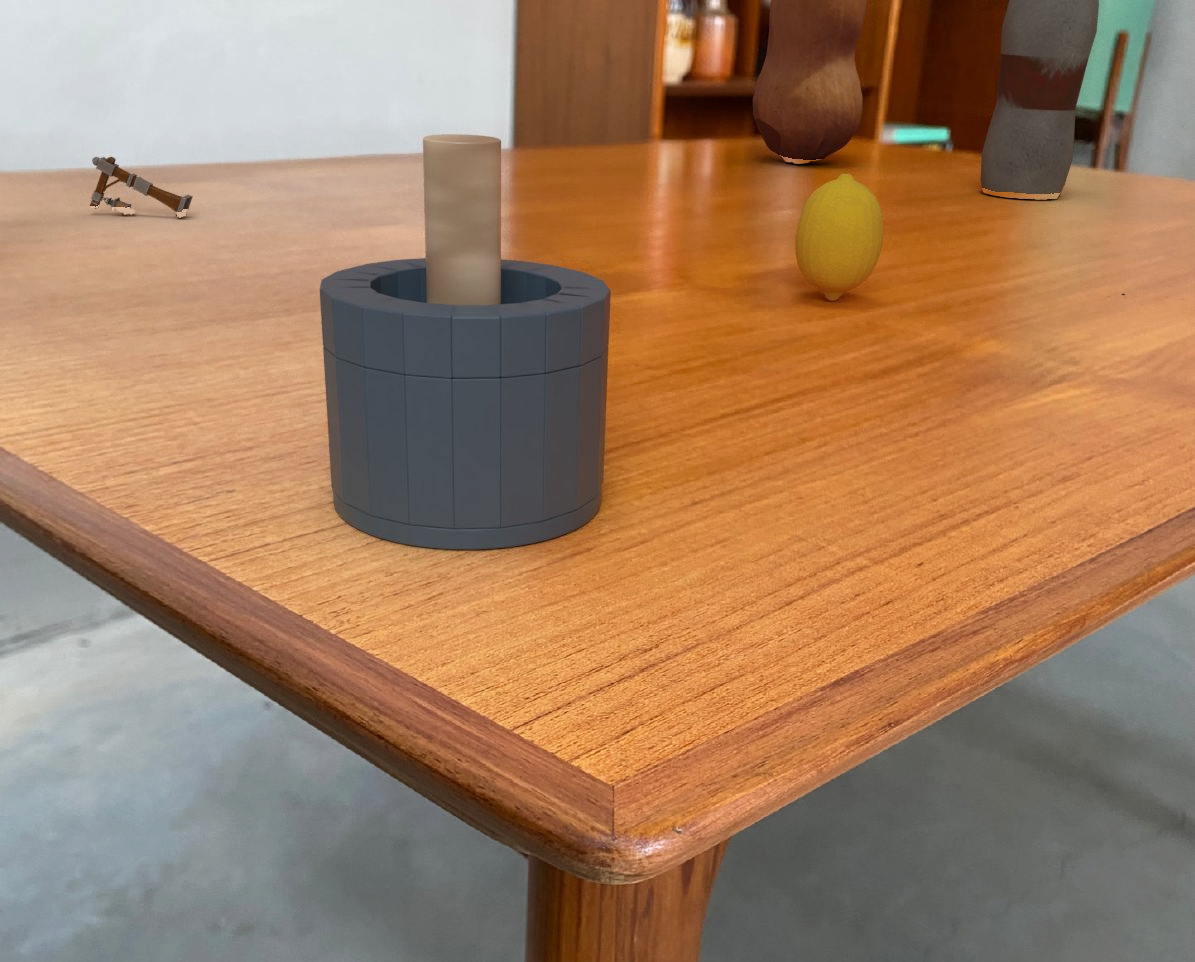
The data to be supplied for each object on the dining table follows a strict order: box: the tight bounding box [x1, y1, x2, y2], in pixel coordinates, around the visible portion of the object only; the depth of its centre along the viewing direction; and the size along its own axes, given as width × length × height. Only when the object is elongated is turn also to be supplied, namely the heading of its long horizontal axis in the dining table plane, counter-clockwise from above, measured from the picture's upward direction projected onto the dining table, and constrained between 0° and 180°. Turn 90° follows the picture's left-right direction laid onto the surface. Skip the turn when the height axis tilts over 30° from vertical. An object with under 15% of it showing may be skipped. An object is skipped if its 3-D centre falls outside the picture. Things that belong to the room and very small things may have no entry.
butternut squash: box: [752, 0, 868, 160], centre depth 152 cm, size 14×13×25 cm
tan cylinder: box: [422, 133, 502, 305], centre depth 44 cm, size 4×4×12 cm
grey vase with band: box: [980, 0, 1100, 194], centre depth 129 cm, size 9×9×30 cm
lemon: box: [794, 172, 884, 302], centre depth 80 cm, size 6×6×8 cm
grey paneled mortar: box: [319, 257, 612, 551], centre depth 45 cm, size 10×10×8 cm
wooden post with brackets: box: [89, 156, 194, 213], centre depth 102 cm, size 2×8×4 cm, turn 89°
